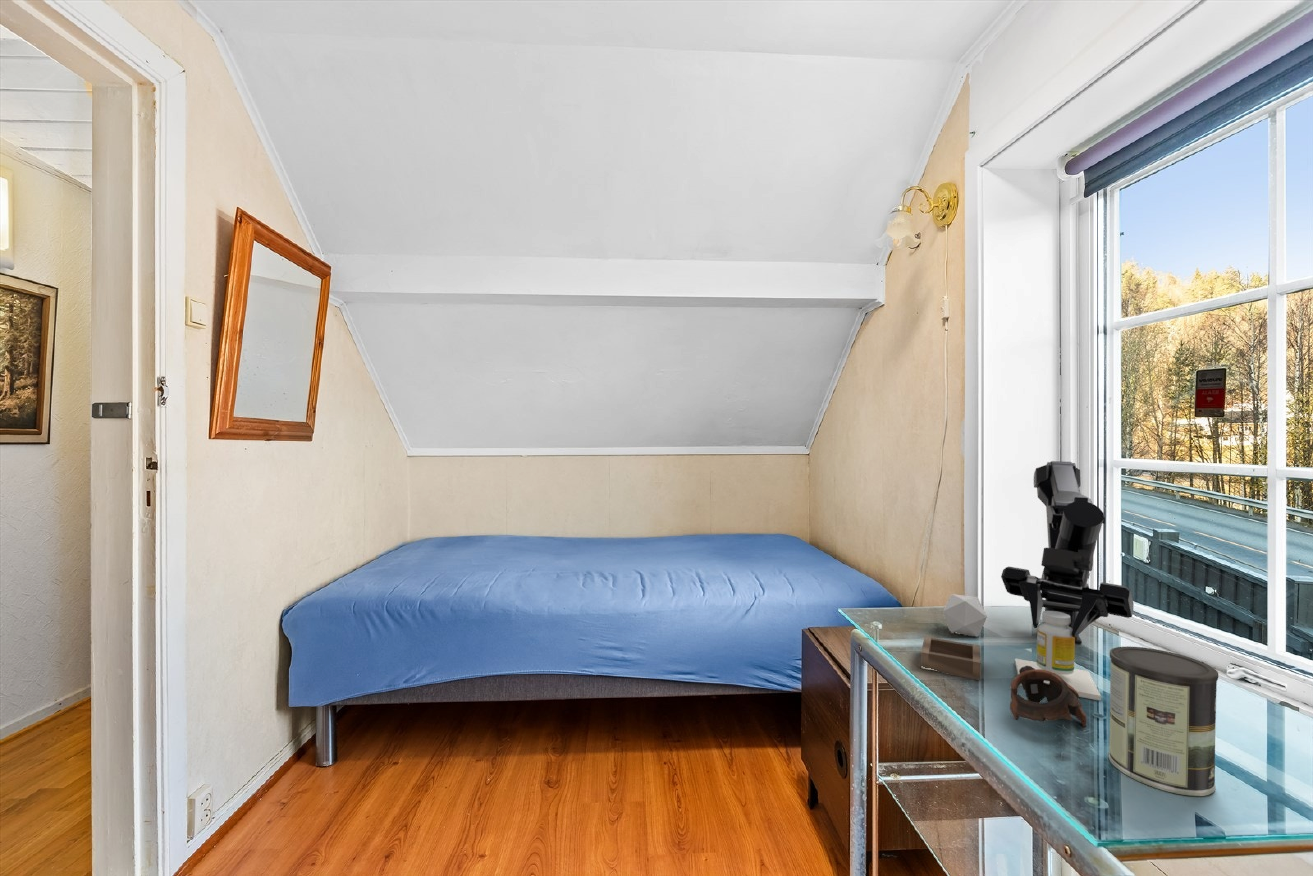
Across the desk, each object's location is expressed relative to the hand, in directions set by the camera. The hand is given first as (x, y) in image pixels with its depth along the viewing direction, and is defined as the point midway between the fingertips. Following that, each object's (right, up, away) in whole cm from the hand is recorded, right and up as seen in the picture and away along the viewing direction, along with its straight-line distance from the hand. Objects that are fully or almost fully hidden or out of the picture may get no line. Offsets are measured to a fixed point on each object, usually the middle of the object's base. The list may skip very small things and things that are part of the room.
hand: (1053, 631), depth 98 cm
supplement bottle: (+1, -7, +1) cm, 7 cm away
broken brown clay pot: (-10, -9, -12) cm, 18 cm away
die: (-2, -9, +24) cm, 26 cm away
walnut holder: (-14, -8, +7) cm, 18 cm away
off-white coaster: (+1, -9, +1) cm, 9 cm away
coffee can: (-5, -9, -26) cm, 28 cm away
